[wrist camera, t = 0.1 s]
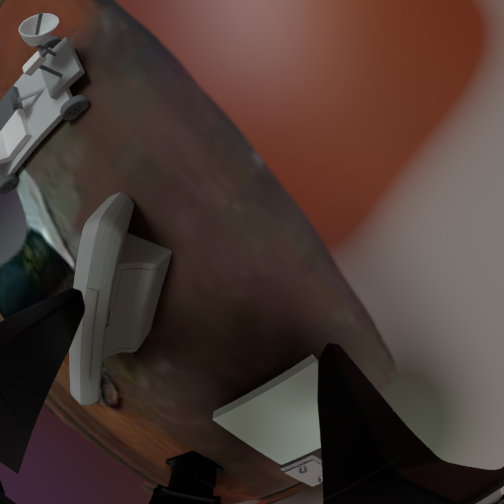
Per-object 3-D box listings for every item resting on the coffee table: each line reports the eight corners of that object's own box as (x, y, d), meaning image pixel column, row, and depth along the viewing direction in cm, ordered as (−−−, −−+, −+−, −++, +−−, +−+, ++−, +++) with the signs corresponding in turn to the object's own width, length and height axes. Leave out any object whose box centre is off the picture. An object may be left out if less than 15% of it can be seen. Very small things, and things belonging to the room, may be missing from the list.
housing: (308, 468, 33) (312, 489, 28) (278, 450, 31) (280, 474, 27) (336, 455, 32) (342, 476, 28) (309, 436, 30) (314, 460, 26)
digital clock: (124, 181, 23) (50, 184, 13) (206, 233, 24) (173, 270, 14) (71, 313, 26) (15, 361, 16) (135, 358, 27) (96, 424, 17)
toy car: (37, -10, 9) (57, 53, 11) (83, 25, 19) (114, 87, 21) (-61, 122, 11) (-49, 203, 14) (-10, 126, 21) (10, 193, 23)
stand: (279, 442, 30) (281, 464, 26) (216, 394, 28) (212, 419, 24) (359, 398, 29) (369, 420, 25) (307, 338, 26) (314, 361, 22)
